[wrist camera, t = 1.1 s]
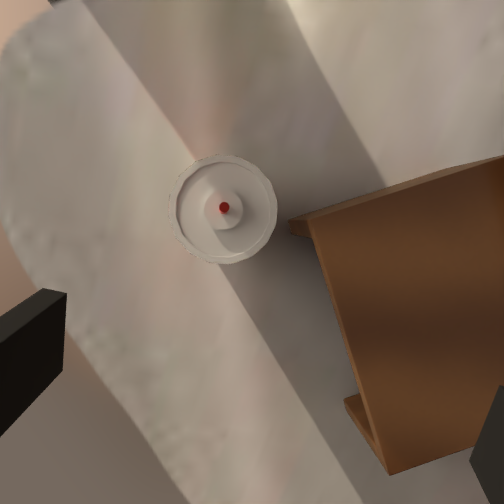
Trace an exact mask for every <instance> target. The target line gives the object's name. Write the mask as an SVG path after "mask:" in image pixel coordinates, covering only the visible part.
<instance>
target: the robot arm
mask: <svg viewBox="0 0 504 504" xmlns="http://www.w3.org/2000/svg"><path fill="white" fill-rule="evenodd" d="M66 301H67V293H63V292H59V291H54V290H49V289H45V288H42V289H41V290H39V291H38V292H36V293H35V294H33V295H32V296H31V297H29V298H28V299H26V300H24V301H23V302H21V303H20V304H18V305H17V306H15V307H14V308H12V309H11V310H9V311H8V312H6V313H5V314H3V315H2V316H0V437H1V436H2V435H3V434H4V432H5V431H6V430H7V429H8V428H9V427H10V426H11V425H12V424H13V423H14V422H15V421H16V420H17V418H18V417H20V415H21V414H22V413H23V412H24V411H25V410H26V409H27V408H28V407H29V406H30V405H31V404H32V403H33V402H34V401H35V399H36V398H37V397H38V396H39V395H40V394H41V393H42V392H43V391H44V390H45V389H46V388H47V387H48V386H49V385H50V384H51V382H52V381H53V380H54V379H55V378H56V377H57V376H58V375H59V374H60V373H61V372H62V370H63V369H62V368H63V352H64V336H65V335H64V334H65V318H66ZM469 462H470V464H471V466H472V468H473V470H474V472H475V474H476V476H477V478H478V480H479V482H480V484H481V486H482V488H483V491H484V493H485V495H486V497H487V499H488V501H489V503H490V504H504V386H502V385H499V387H498V390H497V392H496V395H495V397H494V400H493V402H492V405H491V407H490V410H489V412H488V415H487V417H486V420H485V422H484V425H483V427H482V430H481V432H480V435H479V437H478V440H477V442H476V445H475V447H474V450H473V452H472V455H471V457H470V459H469Z"/></svg>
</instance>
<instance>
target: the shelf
mask: <svg viewBox="0 0 504 504" xmlns="http://www.w3.org/2000/svg"><path fill="white" fill-rule="evenodd" d="M288 224H289V227H290V230H291V234H293V235H298V236H303V237H309V238H312V239H313V242H314V246H315V249H316V252H317V255H318V259H319V262H320V265H321V268H322V272H323V275H324V278H325V281H326V285H327V288H328V291H329V294H330V298H331V301H332V304H333V307H334V310H335V314H336V317H337V320H338V323H339V327H340V330H341V333H342V336H343V340H344V343H345V346H346V349H347V353H348V356H349V359H350V362H351V366H352V369H353V372H354V375H355V378H356V382H357V385H358V388H359V391H360V394H357V395H354V396H351V397H348V398H345V399H344V403H345V406H346V410H347V412H348V414H349V415H350V417H351V418H352V420H353V421H354V423H355V424H356V426H357V428H358V429H359V431H360V432H361V434H362V435H363V437H364V438H365V440H366V441H367V443H368V444H369V446H370V447H371V449H372V450H373V452H374V453H375V455H376V456H377V458H378V459H379V461H380V462H381V464H382V466H383V467H384V469H385V470H386V472H387V473H388V475H389V476H391V475H394V474H396V473H399V472H402V471H405V470H408V469H410V468H413V467H416V466H419V465H422V464H425V463H427V462H430V461H433V460H436V459H439V458H442V457H444V456H447V455H450V454H453V453H456V452H458V451H461V450H464V449H467V448H470V447H473V446H475V445H476V442H477V440H478V437H479V435H480V432H481V430H482V427H483V425H484V422H485V420H486V417H487V415H488V412H489V410H490V407H491V405H492V402H493V400H494V397H495V395H496V392H497V390H498V387H499V385H502V386H504V155H502V156H497V157H493V158H489V159H485V160H480V161H476V162H472V163H467V164H463V165H459V166H455V167H450V168H446V169H443V170H440V171H437V172H433V173H430V174H427V175H424V176H421V177H418V178H415V179H412V180H409V181H406V182H403V183H400V184H396V185H393V186H390V187H387V188H384V189H381V190H378V191H375V192H372V193H369V194H366V195H362V196H359V197H356V198H353V199H350V200H347V201H344V202H341V203H338V204H335V205H332V206H328V207H325V208H322V209H319V210H316V211H313V212H310V213H307V214H304V215H301V216H298V217H294V218H291V219H288Z"/></svg>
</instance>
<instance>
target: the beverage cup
mask: <svg viewBox="0 0 504 504" xmlns="http://www.w3.org/2000/svg"><path fill="white" fill-rule="evenodd" d="M277 206H278V202H277V199H276V196H275V193H274V190H273V187H272V184H271V182H270V181H269V180H268V178H267V177H266V176H265V175H264V174H263V173H262V171H261V170H260V169H259V168H258V167H257V166H256V165H254V164H252V163H250V162H248V161H246V160H244V159H242V158H240V157H238V156H228V155H213V156H210V157H207V158H204V159H201V160H198V161H195V162H194V163H193V164H192V165H191V166H190V167H188V168H187V169H186V170H185V171H184V172H183V173H182V174H181V175H179V177H178V179H177V181H176V183H175V185H174V187H173V189H172V191H171V193H170V196H169V215H168V217H169V220H170V223H171V226H172V229H173V231H174V234H175V237H176V239H177V240H178V241H179V242H180V243H181V244H182V245H183V246H184V247H185V249H186V250H187V251H188V252H189V253H190V254H192V255H194V256H196V257H198V258H200V259H202V260H204V261H206V262H209V263H218V264H233V263H236V262H239V261H242V260H244V259H247V258H250V257H252V256H253V255H254V254H255V253H256V252H257V251H259V250H260V249H261V248H262V247H263V246H264V245H265V244H267V242H268V240H269V238H270V236H271V234H272V232H273V230H274V228H275V226H276V220H277Z"/></svg>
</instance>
